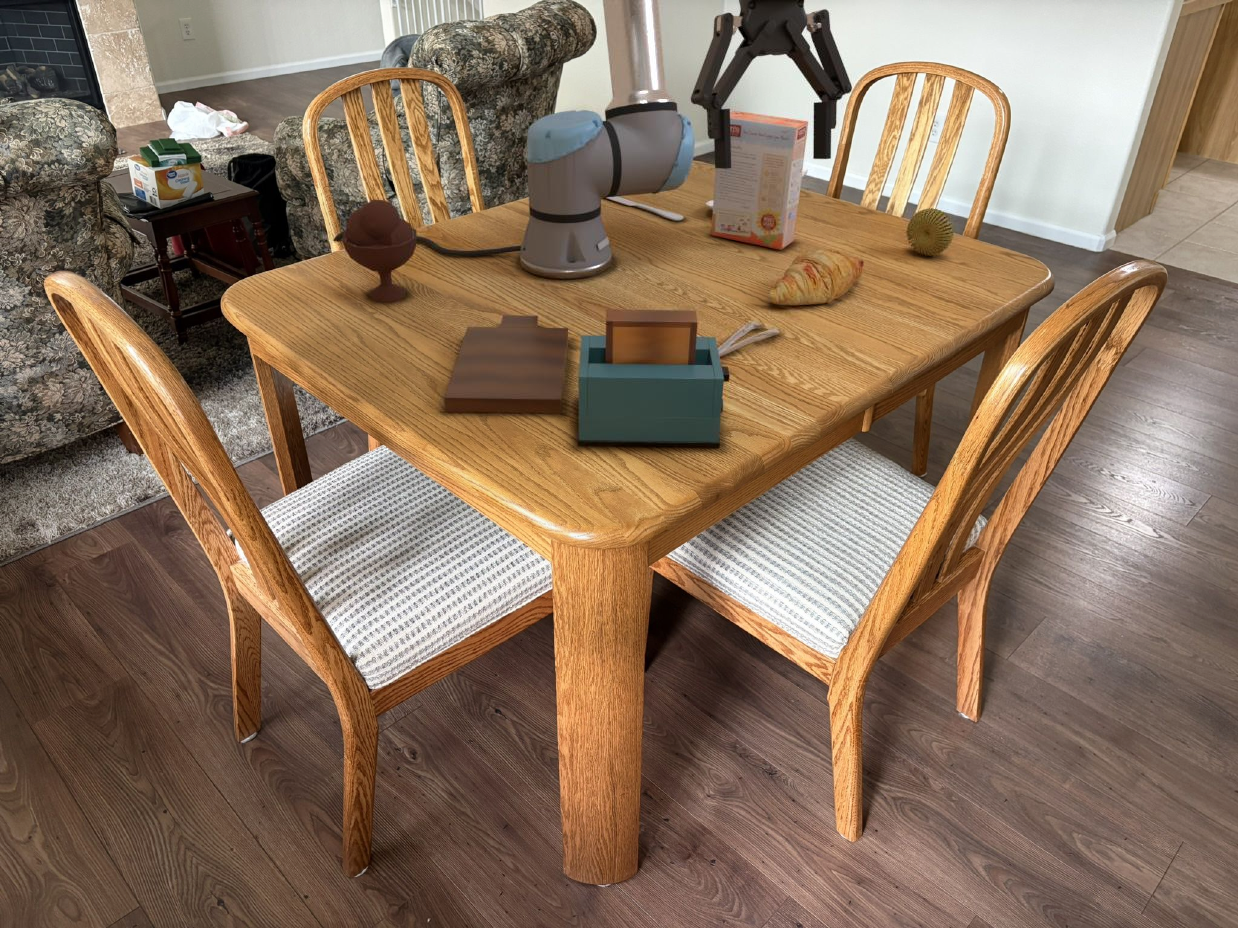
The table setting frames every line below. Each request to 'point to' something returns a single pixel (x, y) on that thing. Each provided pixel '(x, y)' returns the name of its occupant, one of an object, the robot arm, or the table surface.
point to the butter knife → (649, 209)
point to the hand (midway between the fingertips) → (773, 164)
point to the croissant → (816, 278)
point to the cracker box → (760, 180)
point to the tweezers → (752, 325)
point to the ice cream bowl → (380, 244)
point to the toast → (651, 337)
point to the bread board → (509, 368)
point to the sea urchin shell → (930, 232)
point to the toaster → (650, 399)
